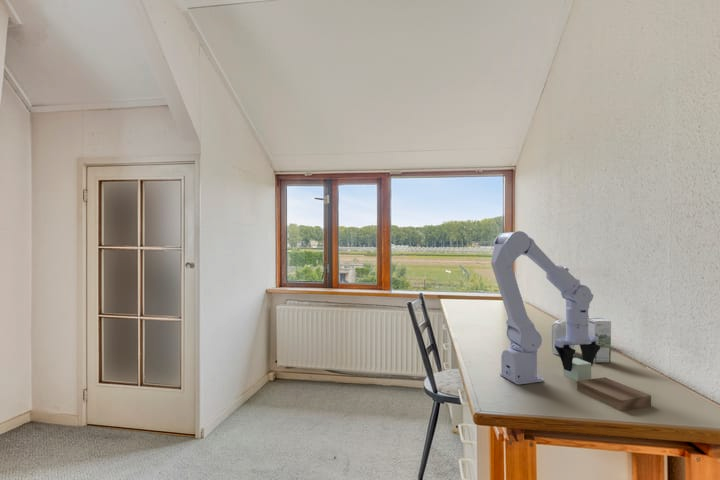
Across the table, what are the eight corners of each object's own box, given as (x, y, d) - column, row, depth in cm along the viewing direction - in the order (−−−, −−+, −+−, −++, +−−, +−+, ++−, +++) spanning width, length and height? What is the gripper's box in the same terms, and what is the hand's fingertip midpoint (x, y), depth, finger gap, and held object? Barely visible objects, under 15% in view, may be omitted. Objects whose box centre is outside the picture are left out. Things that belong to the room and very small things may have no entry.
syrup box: (598, 357, 121) (598, 316, 121) (611, 363, 115) (611, 320, 115) (583, 357, 121) (582, 316, 121) (595, 363, 115) (594, 320, 115)
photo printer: (564, 348, 131) (564, 316, 131) (576, 351, 127) (576, 318, 128) (550, 353, 125) (549, 319, 126) (562, 356, 122) (562, 322, 122)
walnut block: (621, 413, 82) (621, 400, 82) (576, 392, 94) (576, 381, 94) (651, 407, 85) (651, 395, 85) (604, 387, 97) (604, 377, 97)
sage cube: (578, 382, 100) (578, 364, 100) (563, 375, 105) (563, 359, 105) (591, 380, 101) (591, 363, 101) (576, 373, 106) (576, 357, 106)
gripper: (569, 328, 97) (569, 376, 97) (608, 325, 101) (608, 370, 101) (549, 322, 104) (549, 367, 104) (586, 319, 108) (586, 362, 108)
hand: (577, 368), depth 103 cm, fingers open, 7 cm apart
